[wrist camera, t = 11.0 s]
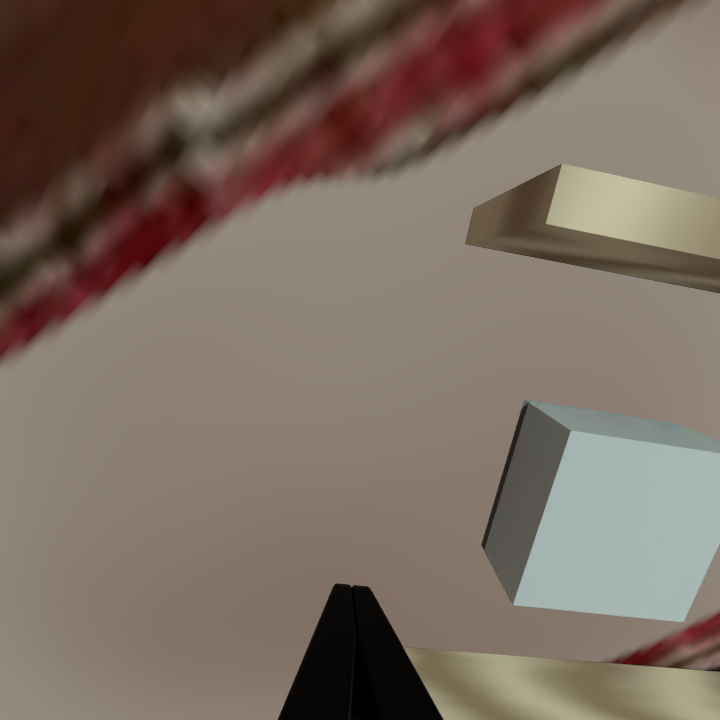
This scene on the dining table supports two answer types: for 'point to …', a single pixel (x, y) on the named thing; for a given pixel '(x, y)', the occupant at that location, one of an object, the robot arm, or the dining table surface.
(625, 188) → the box
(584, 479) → the tile
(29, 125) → the dining table surface
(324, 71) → the dining table surface
